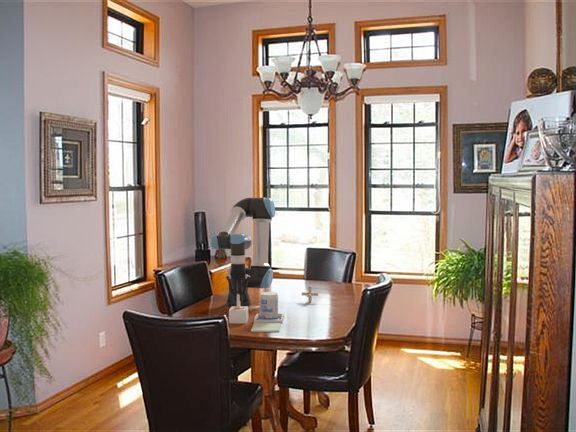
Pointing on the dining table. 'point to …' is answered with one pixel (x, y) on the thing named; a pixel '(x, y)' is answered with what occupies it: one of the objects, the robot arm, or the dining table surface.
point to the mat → (266, 327)
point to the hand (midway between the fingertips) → (238, 307)
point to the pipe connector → (310, 294)
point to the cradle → (269, 320)
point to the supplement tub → (269, 306)
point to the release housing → (238, 315)
